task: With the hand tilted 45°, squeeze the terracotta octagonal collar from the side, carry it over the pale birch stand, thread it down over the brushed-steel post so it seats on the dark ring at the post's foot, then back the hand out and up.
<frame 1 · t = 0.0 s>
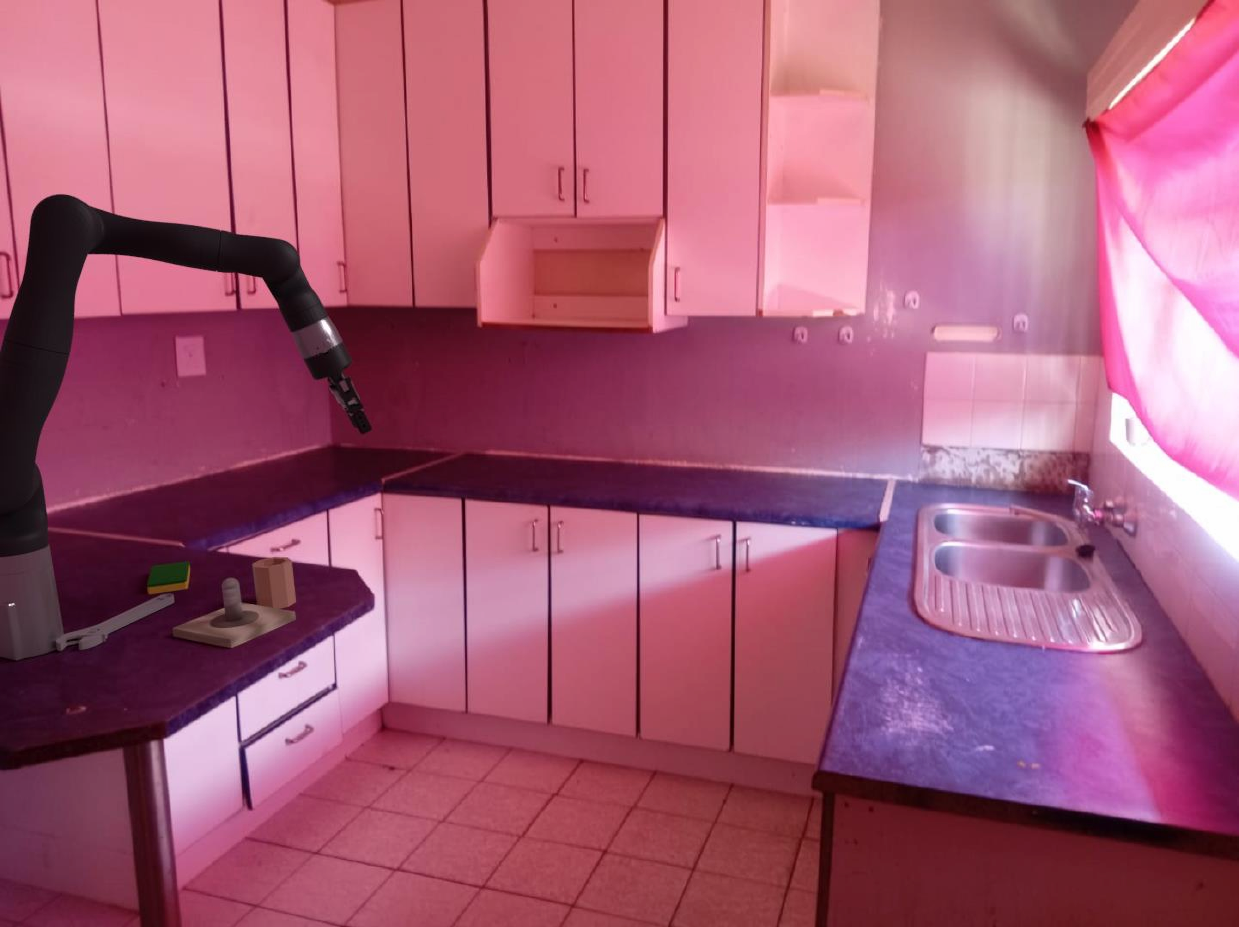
hand: (363, 429, 175), 31 cm above the counter, tool tilted 20°, fingers open, 8 cm apart
dish sponge: (170, 584, 194), on the counter
collar: (276, 603, 178), on the counter
post stand: (235, 627, 166), on the counter
adjustable wrench: (124, 626, 169), on the counter, touching arm
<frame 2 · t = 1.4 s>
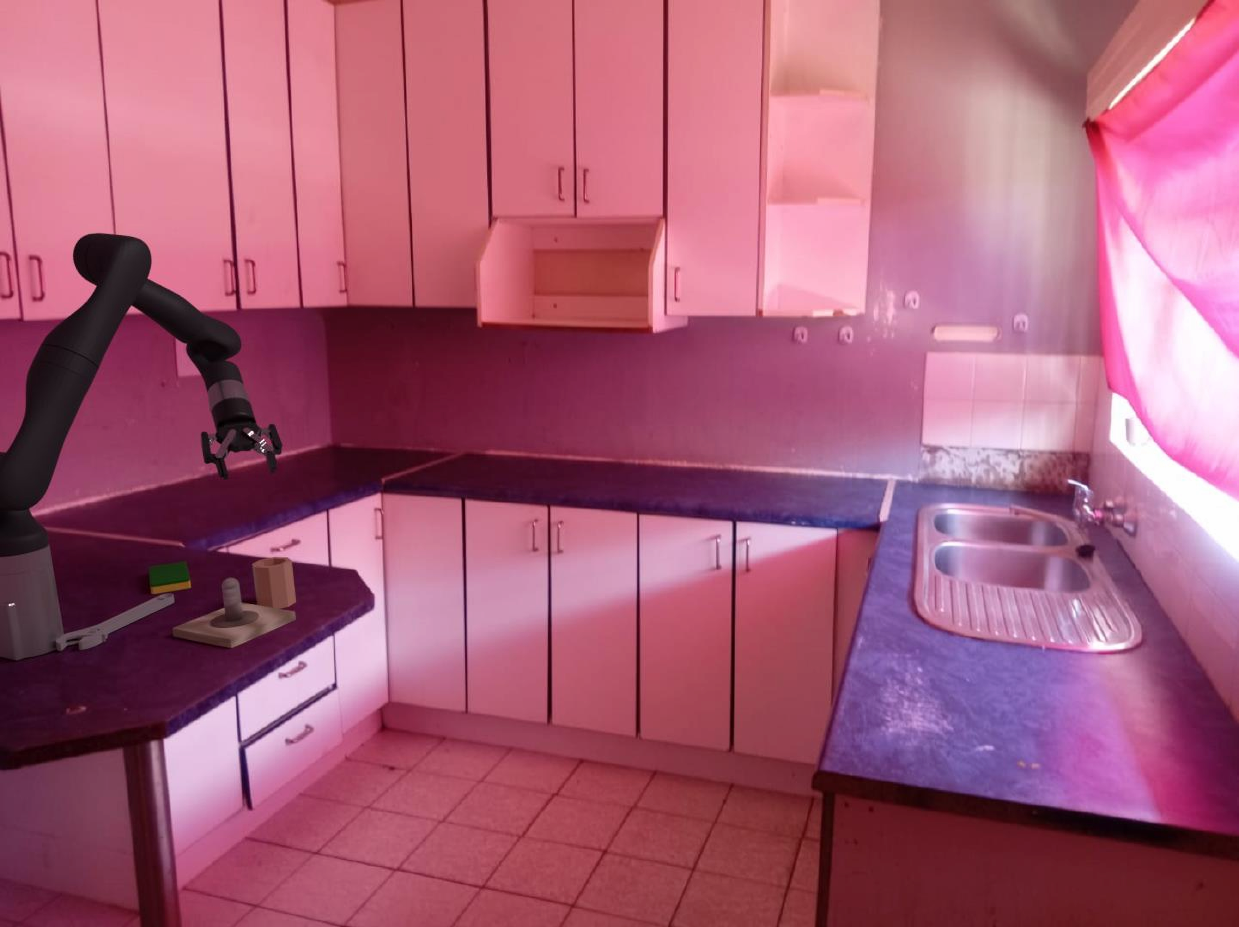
hand: (249, 474, 183), 23 cm above the counter, tool tilted 45°, fingers open, 8 cm apart
nothing on the counter moved.
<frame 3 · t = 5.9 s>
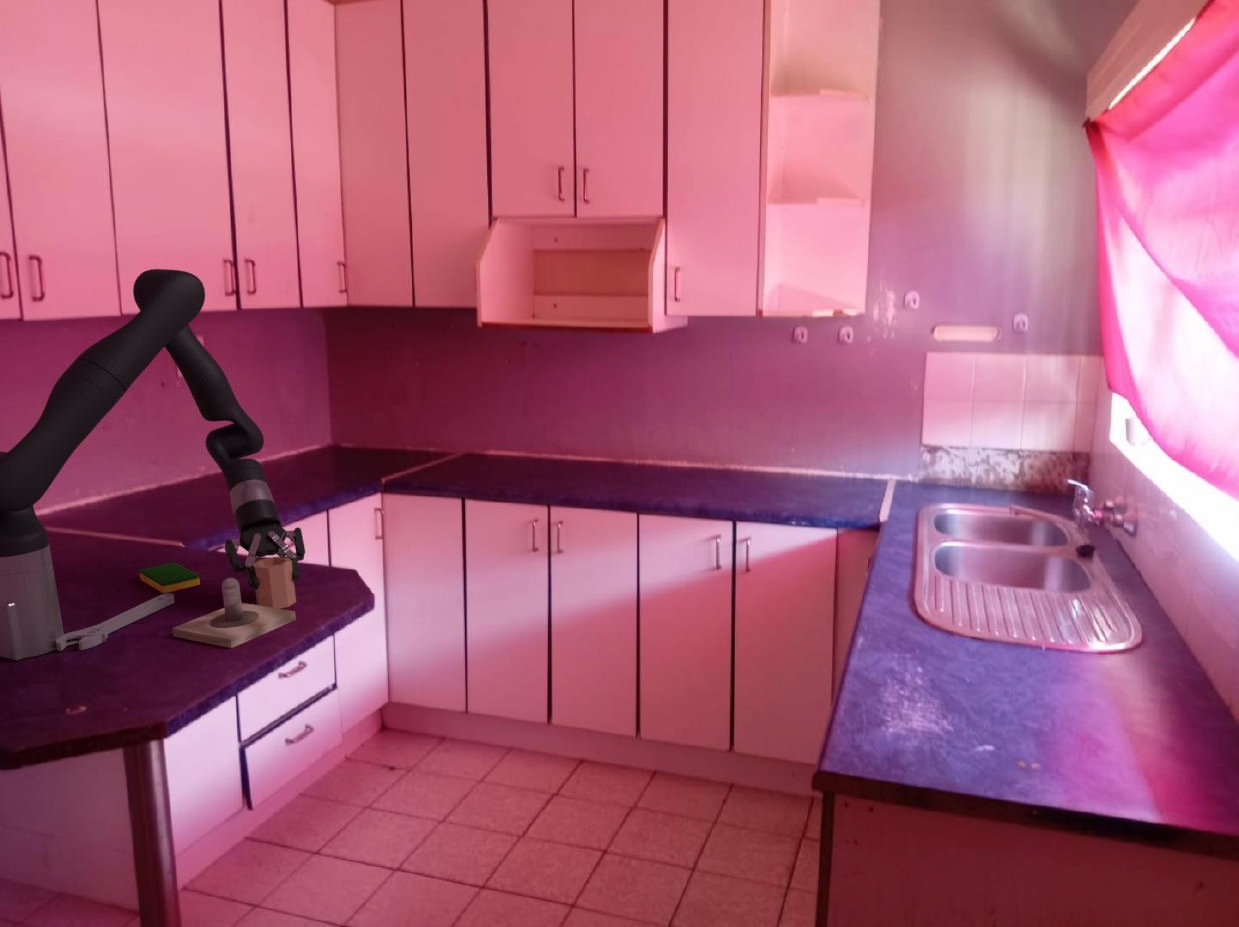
hand: (276, 583, 176), 4 cm above the counter, tool tilted 45°, fingers closed on collar, 6 cm apart
collar: (276, 603, 178), on the counter, touching gripper
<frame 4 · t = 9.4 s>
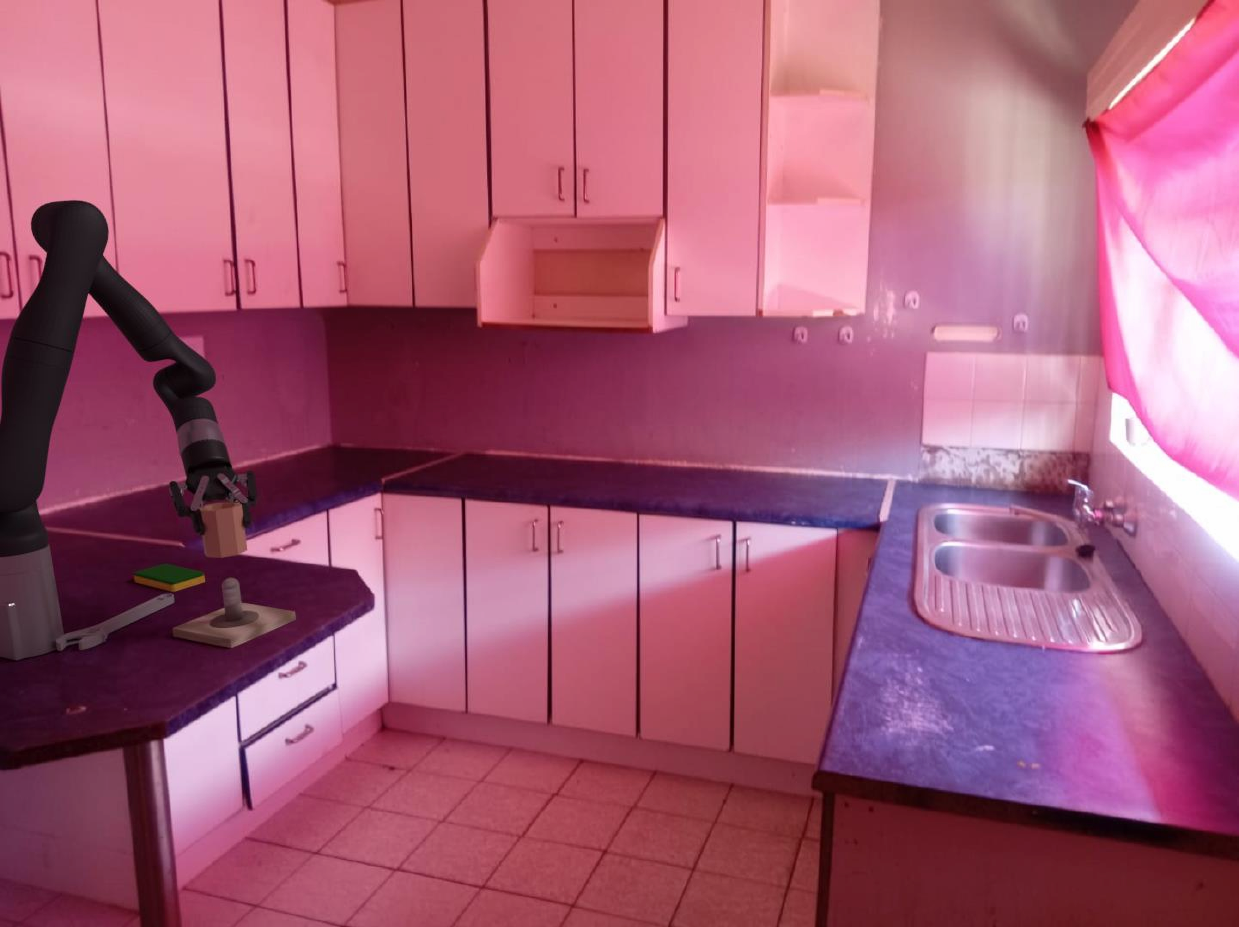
hand: (224, 529, 161), 18 cm above the counter, tool tilted 45°, fingers closed on collar, 6 cm apart
collar: (226, 551, 163), point 14 cm above the counter, touching gripper
when the fingers open (7 cm above the counter, at t = 13.1 s): collar drops 1 cm, resting on post stand.
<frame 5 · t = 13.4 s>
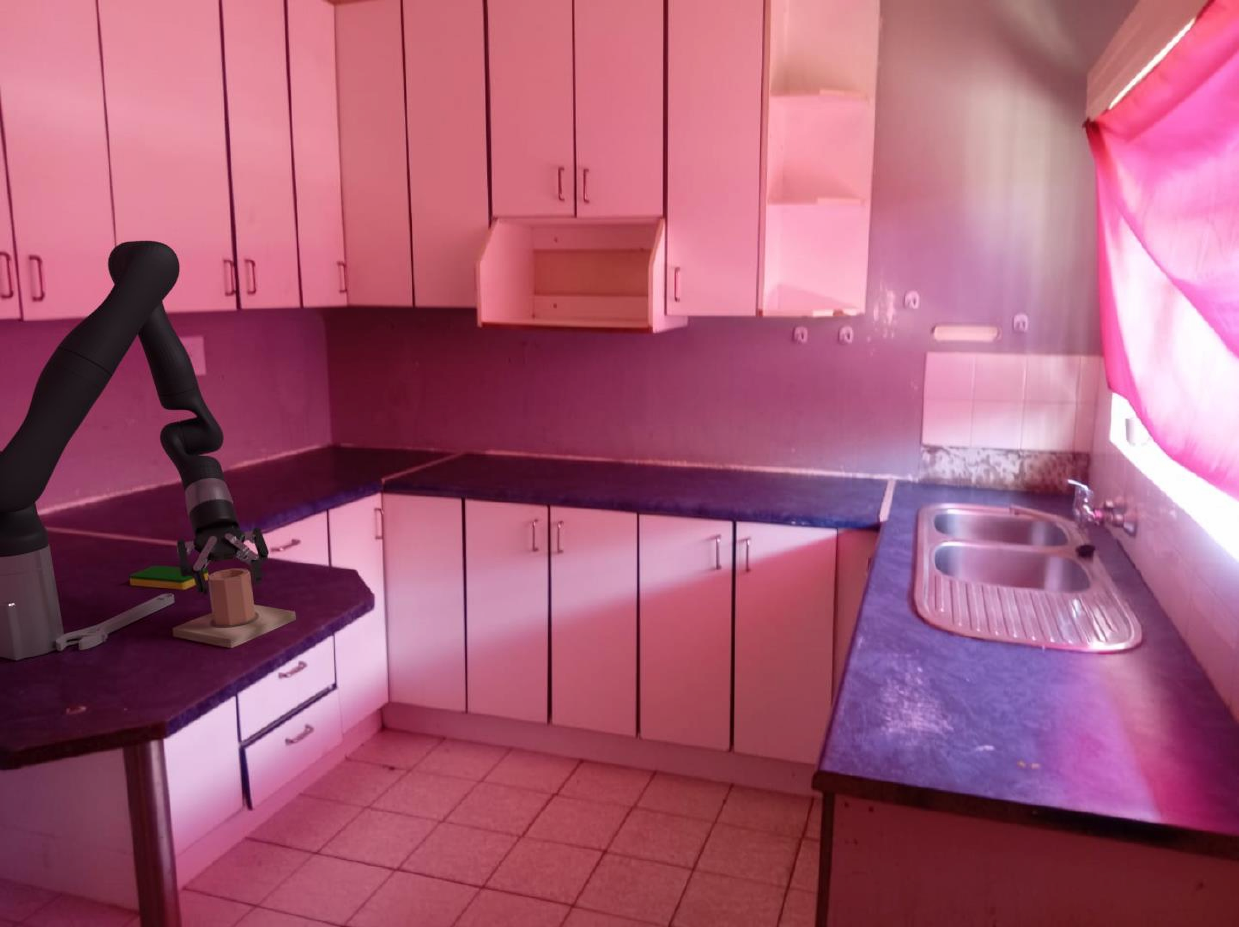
hand: (232, 587, 163), 8 cm above the counter, tool tilted 45°, fingers open, 8 cm apart
collar: (234, 618, 166), point 2 cm above the counter, touching post stand
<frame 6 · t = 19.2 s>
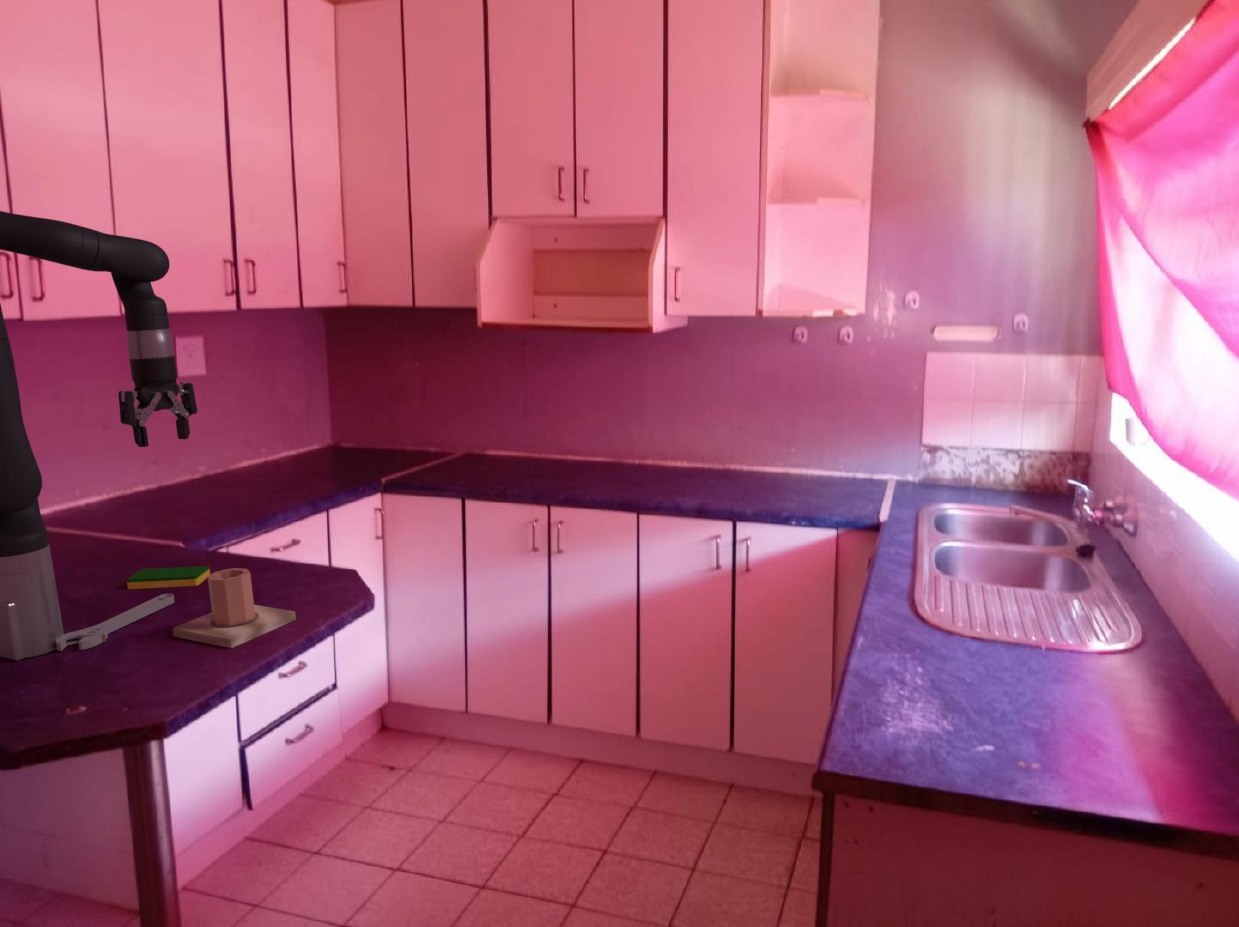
hand: (163, 442, 178), 30 cm above the counter, tool pointing down, fingers open, 8 cm apart
at the end: collar 0.1 cm from the post stand (horizontally); collar point 1.7 cm above the counter; collar tilted 0° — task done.
